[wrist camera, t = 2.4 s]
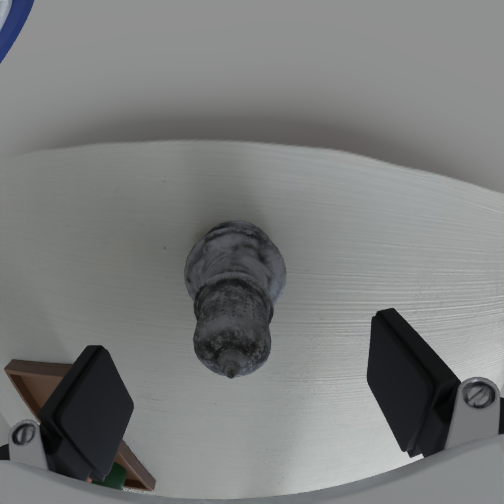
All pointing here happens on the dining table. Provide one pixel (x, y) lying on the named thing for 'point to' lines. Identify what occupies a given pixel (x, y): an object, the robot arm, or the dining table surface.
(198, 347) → the salt shaker
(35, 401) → the tray
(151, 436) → the dining table surface
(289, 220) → the dining table surface
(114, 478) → the dark green bottle
